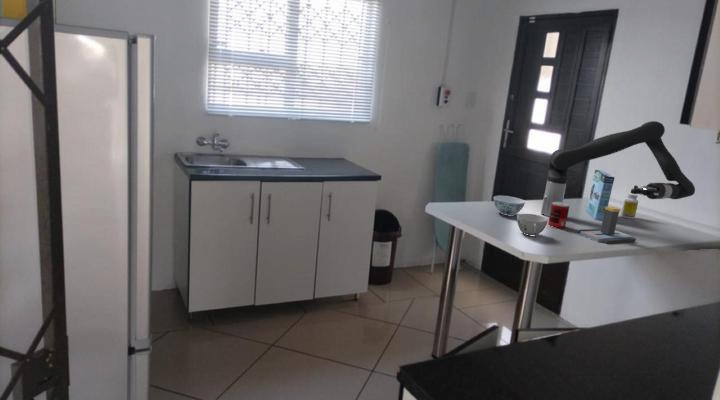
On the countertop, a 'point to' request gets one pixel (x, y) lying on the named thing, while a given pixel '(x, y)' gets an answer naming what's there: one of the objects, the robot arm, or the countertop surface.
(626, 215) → the supplement bottle
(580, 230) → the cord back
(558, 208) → the canned food
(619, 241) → the dark grey long bar
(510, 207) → the chinaware
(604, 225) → the block
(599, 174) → the gum box
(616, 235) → the blue rectangular board
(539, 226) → the teacup
